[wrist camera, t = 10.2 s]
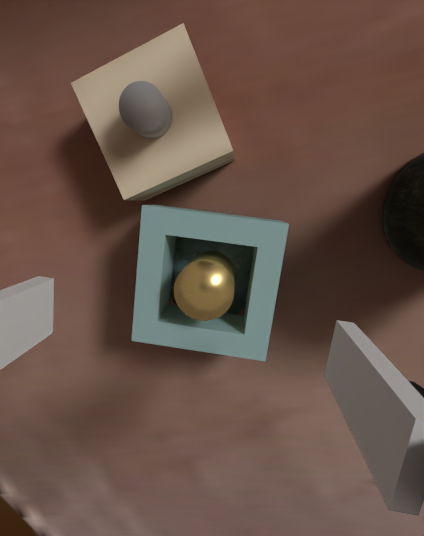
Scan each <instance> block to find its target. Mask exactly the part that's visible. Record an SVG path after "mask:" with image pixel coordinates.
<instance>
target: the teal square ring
mask: <svg viewBox="0 0 424 536" xmlns="http://www.w3.org/2000/svg"><path fill="white" fill-rule="evenodd" d="M288 227H289V224H288V223H286V222H283V221H279V220H271V219H263V218H255V217H247V216H240V215H232V214H224V213H216V212H208V211H201V210H193V209H185V208H177V207H169V206H162V205H142V210H141V223H140V236H139V249H138V262H137V275H136V288H135V301H134V314H133V327H132V340H131V341H136V342H143V343H149V344H156V345H162V346H169V347H175V348H182V349H188V350H195V351H201V352H208V353H214V354H220V355H227V356H233V357H240V358H246V359H253V360H259V361H266V356H267V350H268V344H269V338H270V332H271V326H272V321H273V315H274V309H275V303H276V297H277V291H278V286H279V280H280V274H281V268H282V262H283V256H284V251H285V245H286V239H287V233H288ZM176 236H179V237H186V238H194V239H201V240H209V241H216V242H224V243H231V244H239V245H246V246H254V251H253V258H252V265H251V271H250V278H249V284H248V291H247V298H246V304H245V311H244V316H242V315H235V314H228V313H224V314H223V315H222V316H220V317H218V318H216V319H213V320H209V321H201V320H196V319H193V318H191V317H189V316H187V315H186V314H185V313H184V312H182V310H181V309H180V308H179V307H178V306H173V305H169V300H170V290H171V280H172V270H173V260H174V250H175V240H176Z"/></svg>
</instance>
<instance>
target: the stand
mask: <svg viewBox="0 0 424 536" xmlns="http://www.w3.org/2000/svg"><path fill="white" fill-rule="evenodd" d="M71 84H72V87H73V89H74V91H75V93H76V95H77V98H78V100H79V102H80V104H81V106H82V109H83V111H84V113H85V115H86V117H87V120H88V122H89V124H90V126H91V129H92V131H93V133H94V135H95V137H96V140H97V142H98V144H99V146H100V148H101V151H102V153H103V155H104V157H105V159H106V162H107V164H108V166H109V168H110V170H111V173H112V175H113V177H114V179H115V182H116V184H117V186H118V188H119V190H120V193H121V195H122V197H123V199H124V200H134V201H145V200H147V199H150V198H152V197H154V196H156V195H158V194H161V193H163V192H165V191H167V190H170V189H172V188H174V187H176V186H179V185H181V184H183V183H185V182H188V181H190V180H192V179H194V178H197V177H199V176H201V175H203V174H205V173H208V172H210V171H212V170H214V169H217V168H219V167H221V166H223V165H226V164H228V163H230V162H232V161H234V153H233V149H232V146H231V144H230V141H229V139H228V136H227V134H226V131H225V128H224V126H223V123H222V121H221V118H220V116H219V113H218V110H217V108H216V105H215V103H214V100H213V98H212V95H211V93H210V90H209V87H208V85H207V82H206V80H205V77H204V75H203V72H202V69H201V67H200V64H199V62H198V59H197V57H196V54H195V51H194V49H193V46H192V44H191V41H190V39H189V36H188V34H187V31H186V28H185V26H184V23H183V24H181V25H179V26H177V27H175V28H173V29H172V30H170V31H168V32H166V33H164V34H162V35H160V36H158V37H157V38H155V39H153V40H151V41H149V42H147V43H145V44H143V45H141V46H140V47H138V48H136V49H134V50H132V51H130V52H128V53H126V54H125V55H123V56H121V57H119V58H117V59H115V60H113V61H111V62H109V63H108V64H106V65H104V66H102V67H100V68H98V69H96V70H94V71H93V72H91V73H89V74H87V75H85V76H83V77H81V78H79V79H77V80H76V81H74V82H72V83H71Z"/></svg>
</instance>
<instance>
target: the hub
mask: <svg viewBox="0 0 424 536" xmlns="http://www.w3.org/2000/svg"><path fill="white" fill-rule="evenodd" d="M253 251H254V249H253V247H252V246H246V245H239V244H231V243H224V242H216V241H209V240H201V239H194V238H186V237H179V238H178V239H177V240H176V241H175V250H174V260H173V270H172V280H171V290H170V297H171V298H172V300H173V301H174V302H175V303H176V305H177V306H178V307H179V308H180V309H181V310H182V312H184V313H185V314H186V315H187V316H189V317H191V318H193V319H196V320H201V321H209V320H213V319H216V318H218V317H220V316H222V315H223V314H224V313H228V314H237V313H238V312H240V311H241V310H243V309H244V308H245V304H246V298H247V291H248V284H249V278H250V271H251V265H252V258H253Z"/></svg>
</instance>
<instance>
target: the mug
mask: <svg viewBox="0 0 424 536" xmlns="http://www.w3.org/2000/svg"><path fill="white" fill-rule="evenodd" d="M383 225H384V230H385V234H386V237H387V240H388V242H389V244H390V246H391V247H392V249H393V250H394V252H395V253H396V254H397V255H398V256H399V257H400V258H401V259H402V260H404V261H405V262H406V263H408V264H410V265H411V266H413V267H415V268H418V269H421V270H423V271H424V153H423V154H421V155H420V156H418V157H417V158H415V159H414V160H413V161H412V162H411V163H409V164H408V165H407V166H406V167H405V168H404V169H403V170H402V172H401V173H400V174H399V175H398V177H397V178H396V180H395V181H394V183H393V184H392V186H391V188H390V190H389V192H388V195H387V198H386V201H385V205H384V212H383Z"/></svg>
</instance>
